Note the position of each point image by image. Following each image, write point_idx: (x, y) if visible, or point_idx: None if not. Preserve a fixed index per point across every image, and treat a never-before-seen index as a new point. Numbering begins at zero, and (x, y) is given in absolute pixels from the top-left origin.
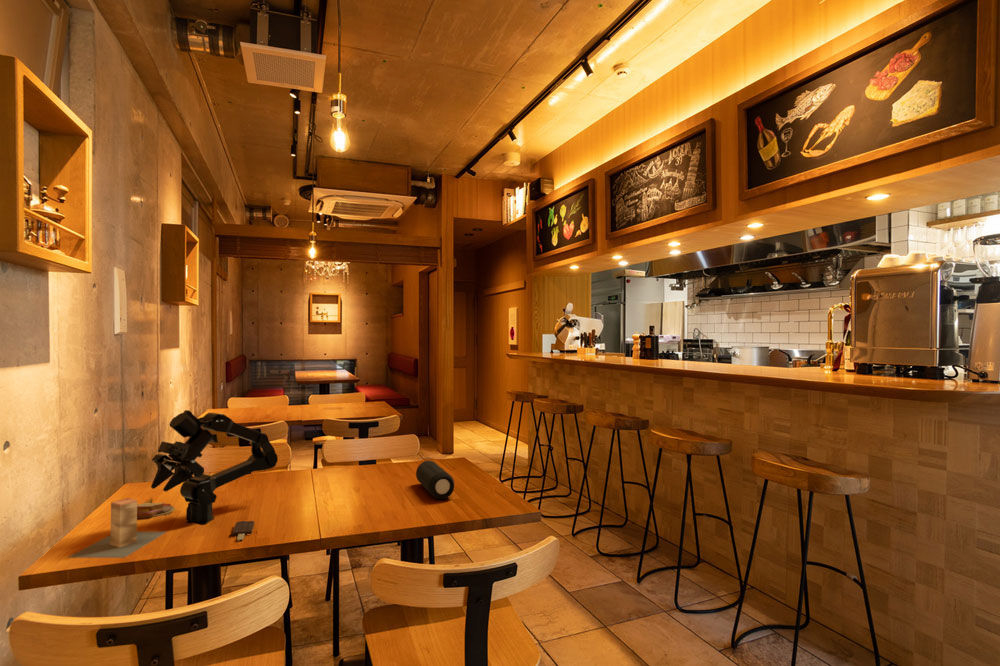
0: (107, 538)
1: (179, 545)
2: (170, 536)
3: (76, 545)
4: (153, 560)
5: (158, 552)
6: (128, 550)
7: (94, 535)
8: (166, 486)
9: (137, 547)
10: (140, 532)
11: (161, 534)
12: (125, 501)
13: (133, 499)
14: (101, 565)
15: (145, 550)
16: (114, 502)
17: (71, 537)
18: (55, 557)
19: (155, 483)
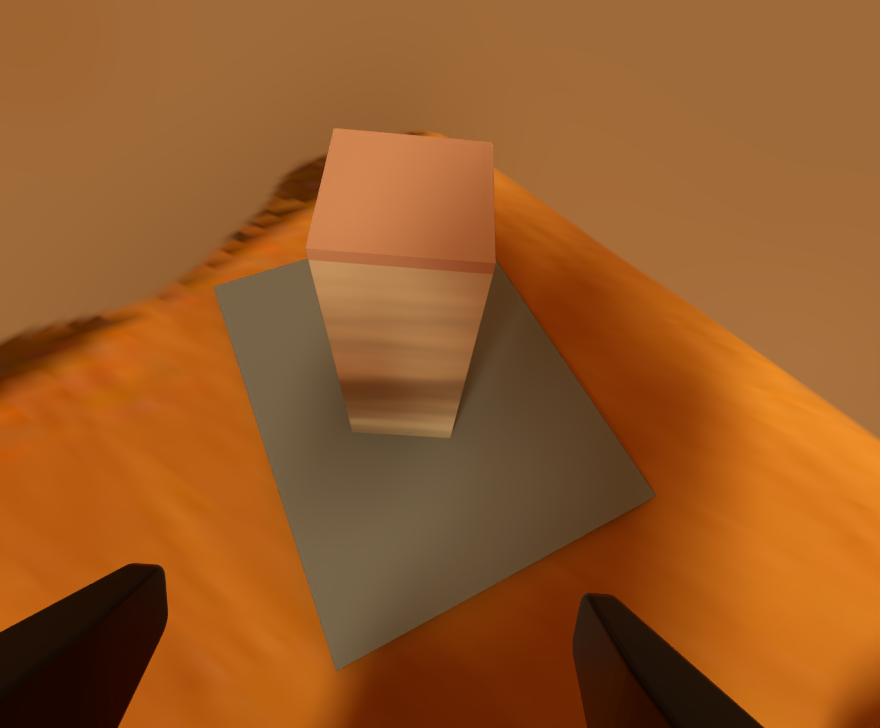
0: (568, 401)
1: (53, 544)
2: (263, 640)
3: (618, 313)
4: (55, 336)
5: (112, 412)
6: (277, 342)
7: (717, 425)
8: (45, 613)
9: (269, 385)
10: (504, 557)
11: (324, 602)
12: (385, 188)
13: (376, 250)
14: (265, 231)
15: (217, 401)
16: (452, 145)
17: (770, 362)
18: (532, 218)
19: (621, 704)
